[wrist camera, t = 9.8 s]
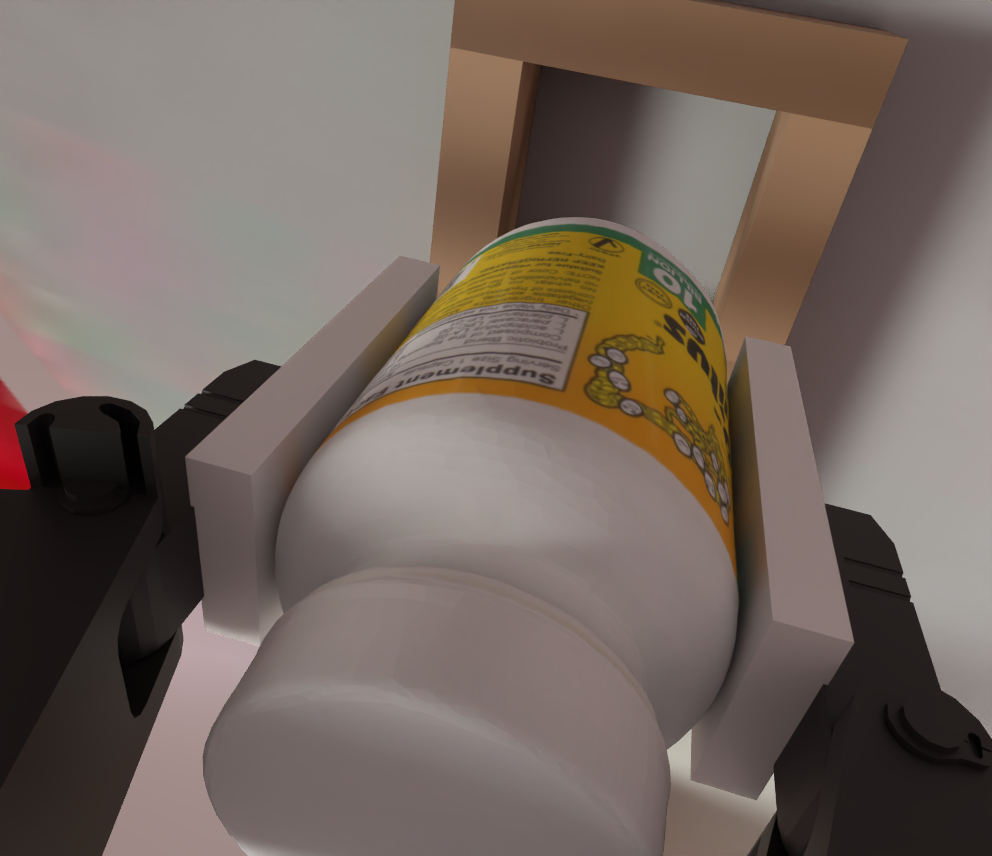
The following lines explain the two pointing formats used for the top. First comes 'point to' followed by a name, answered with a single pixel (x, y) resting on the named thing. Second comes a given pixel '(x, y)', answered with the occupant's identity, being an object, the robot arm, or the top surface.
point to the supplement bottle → (501, 573)
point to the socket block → (679, 67)
